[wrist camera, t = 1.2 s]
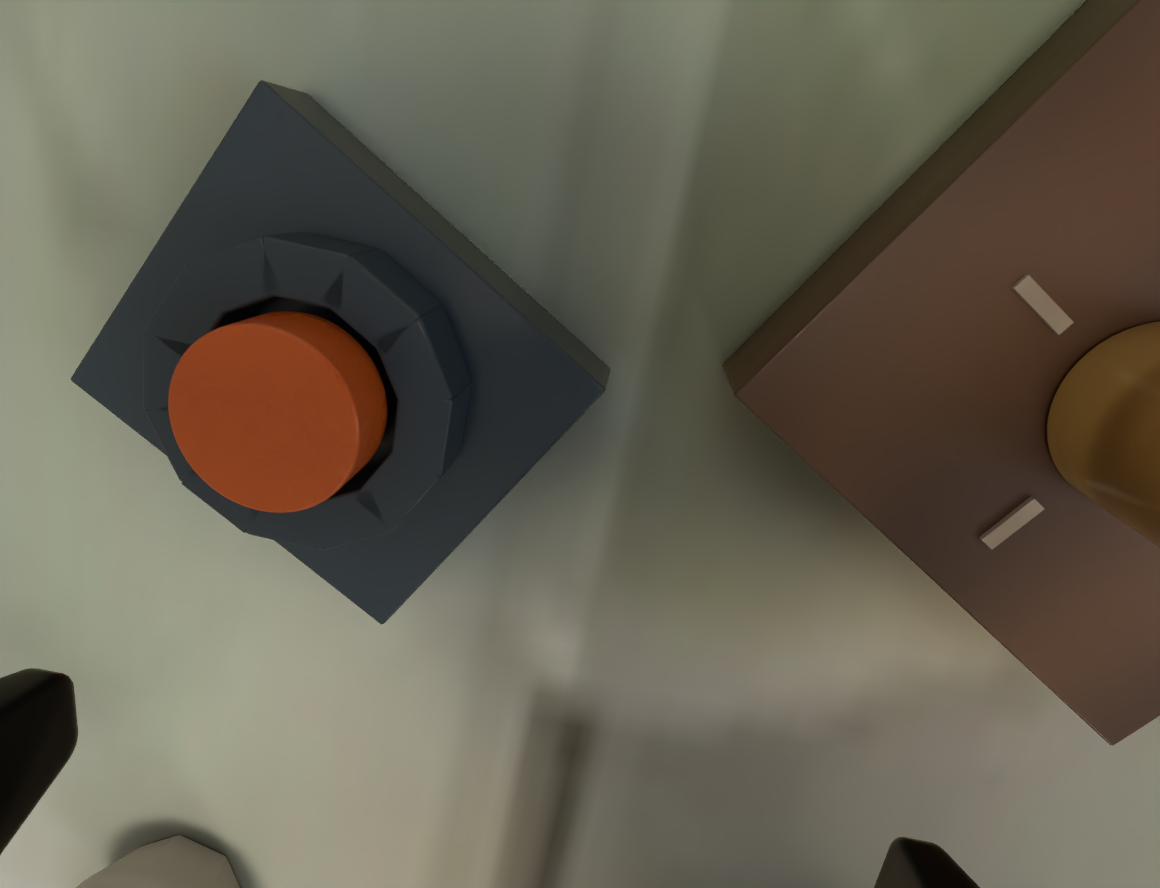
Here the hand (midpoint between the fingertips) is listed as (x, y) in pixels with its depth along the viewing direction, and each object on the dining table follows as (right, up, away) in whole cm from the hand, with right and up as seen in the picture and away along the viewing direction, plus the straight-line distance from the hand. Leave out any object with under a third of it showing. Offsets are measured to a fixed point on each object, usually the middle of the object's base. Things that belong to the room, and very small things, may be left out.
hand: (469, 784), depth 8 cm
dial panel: (+13, +5, +10) cm, 18 cm away
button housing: (-5, +6, +12) cm, 14 cm away
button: (-5, +5, +8) cm, 11 cm away
